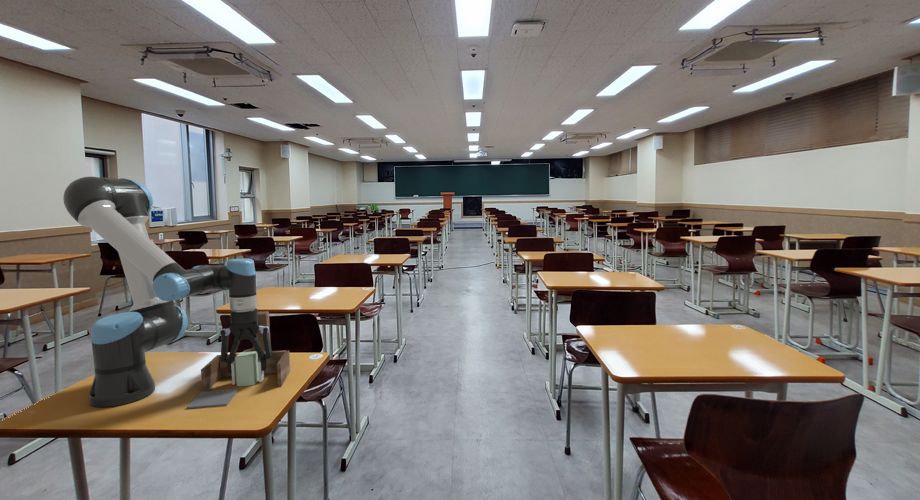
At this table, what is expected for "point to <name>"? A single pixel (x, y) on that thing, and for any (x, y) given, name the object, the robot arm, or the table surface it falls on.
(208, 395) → the mat
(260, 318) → the wooden block
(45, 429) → the table surface
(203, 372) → the cubby
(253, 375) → the block
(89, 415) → the table surface
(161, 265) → the robot arm
